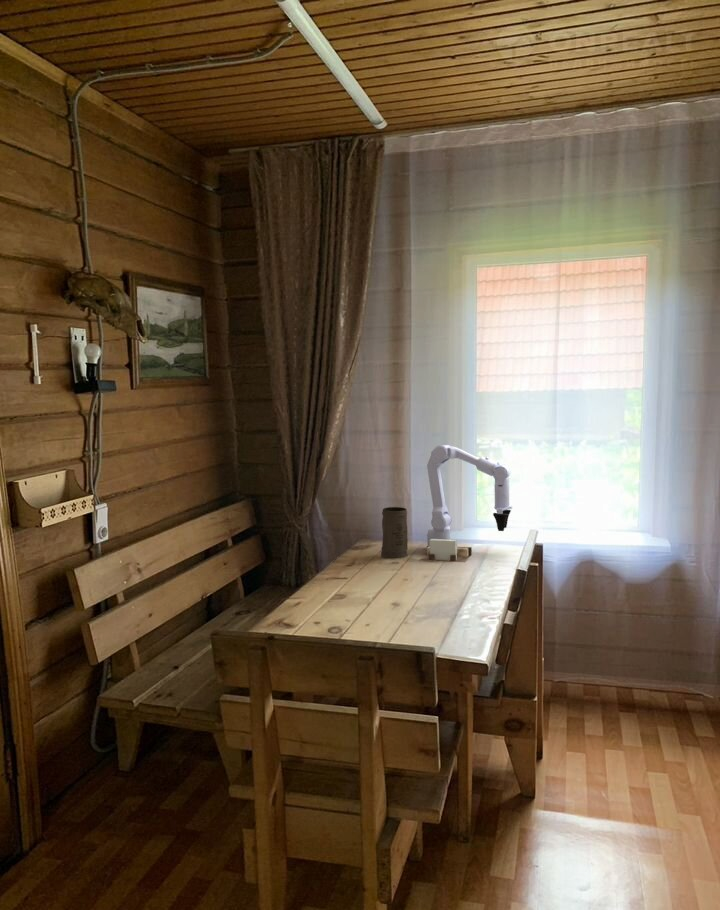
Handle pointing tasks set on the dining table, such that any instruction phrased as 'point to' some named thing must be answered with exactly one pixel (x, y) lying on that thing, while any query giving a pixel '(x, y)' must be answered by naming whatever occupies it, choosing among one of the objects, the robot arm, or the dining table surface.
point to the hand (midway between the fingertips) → (502, 529)
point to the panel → (443, 548)
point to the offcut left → (428, 550)
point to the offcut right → (462, 552)
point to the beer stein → (394, 533)
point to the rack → (452, 557)
